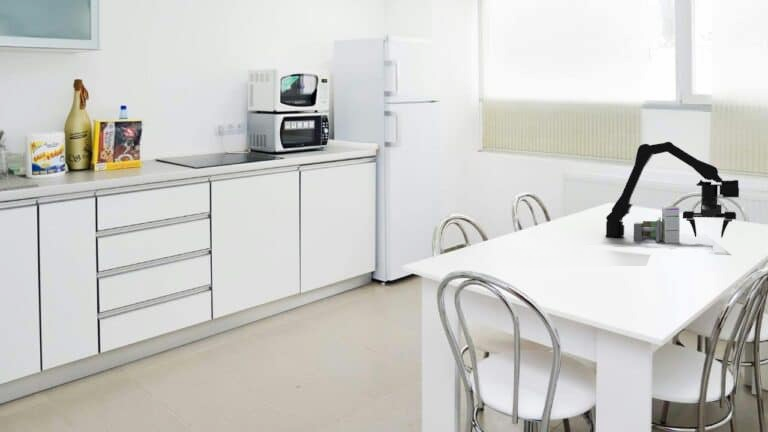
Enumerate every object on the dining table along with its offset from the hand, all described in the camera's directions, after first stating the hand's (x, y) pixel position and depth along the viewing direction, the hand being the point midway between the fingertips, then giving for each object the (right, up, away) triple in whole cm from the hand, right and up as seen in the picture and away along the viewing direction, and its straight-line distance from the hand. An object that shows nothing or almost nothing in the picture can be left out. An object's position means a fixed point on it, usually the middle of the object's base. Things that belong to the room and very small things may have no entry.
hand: (708, 237), depth 263 cm
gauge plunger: (-19, -2, +12) cm, 23 cm away
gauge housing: (-19, -2, +11) cm, 22 cm away
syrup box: (-12, -3, +6) cm, 14 cm away
